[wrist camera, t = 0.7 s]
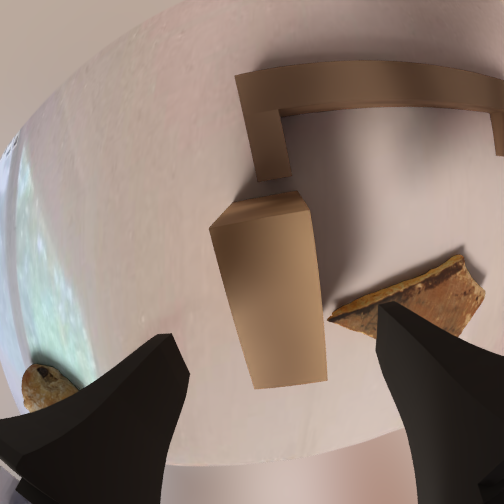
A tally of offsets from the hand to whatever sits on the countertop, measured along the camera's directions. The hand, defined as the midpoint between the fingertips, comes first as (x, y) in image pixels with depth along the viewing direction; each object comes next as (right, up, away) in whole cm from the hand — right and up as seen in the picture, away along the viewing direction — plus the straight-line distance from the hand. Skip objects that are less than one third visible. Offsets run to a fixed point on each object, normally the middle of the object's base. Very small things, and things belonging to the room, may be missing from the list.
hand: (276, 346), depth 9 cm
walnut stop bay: (+8, +11, +3) cm, 14 cm away
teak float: (+1, +2, +7) cm, 7 cm away
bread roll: (-24, -14, +15) cm, 32 cm away
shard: (+11, -1, +8) cm, 13 cm away
